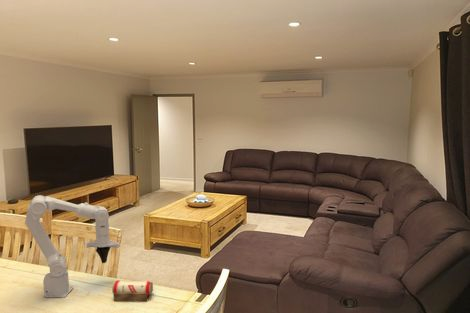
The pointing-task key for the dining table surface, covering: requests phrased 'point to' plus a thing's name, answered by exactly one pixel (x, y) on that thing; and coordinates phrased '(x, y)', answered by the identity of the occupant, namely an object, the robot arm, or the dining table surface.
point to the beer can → (133, 287)
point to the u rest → (131, 297)
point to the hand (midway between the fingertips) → (104, 262)
